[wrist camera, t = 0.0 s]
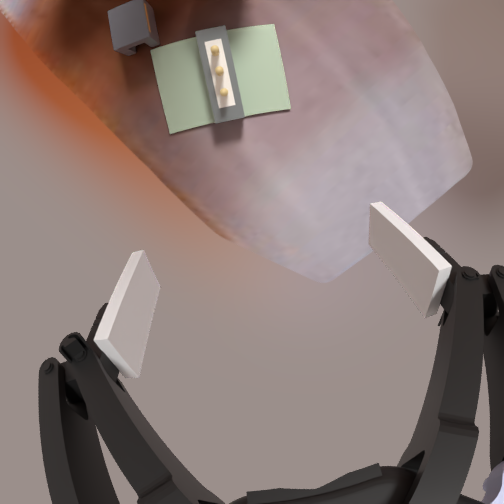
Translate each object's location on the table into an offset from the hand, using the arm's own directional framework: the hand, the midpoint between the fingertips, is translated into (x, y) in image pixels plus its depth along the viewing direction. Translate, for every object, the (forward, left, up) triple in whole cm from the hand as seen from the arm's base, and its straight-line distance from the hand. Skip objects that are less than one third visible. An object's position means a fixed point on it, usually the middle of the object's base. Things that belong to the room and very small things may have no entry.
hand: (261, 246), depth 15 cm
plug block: (-23, -10, -28) cm, 38 cm away
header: (-12, 0, -28) cm, 31 cm away
